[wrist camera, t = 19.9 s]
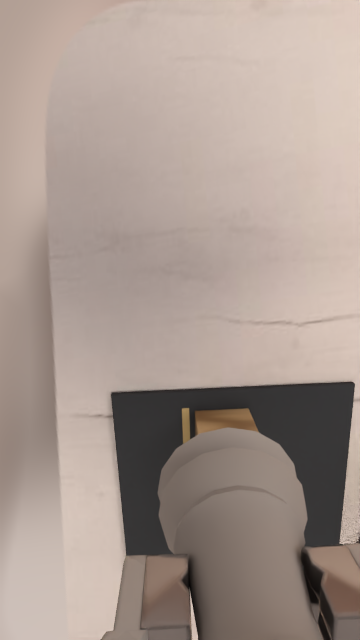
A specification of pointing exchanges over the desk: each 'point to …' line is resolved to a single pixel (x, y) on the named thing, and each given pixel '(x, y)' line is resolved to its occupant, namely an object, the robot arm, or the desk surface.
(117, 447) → the dark grey square board
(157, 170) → the desk surface
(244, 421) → the slotted cardboard carton
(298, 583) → the rook chess piece
